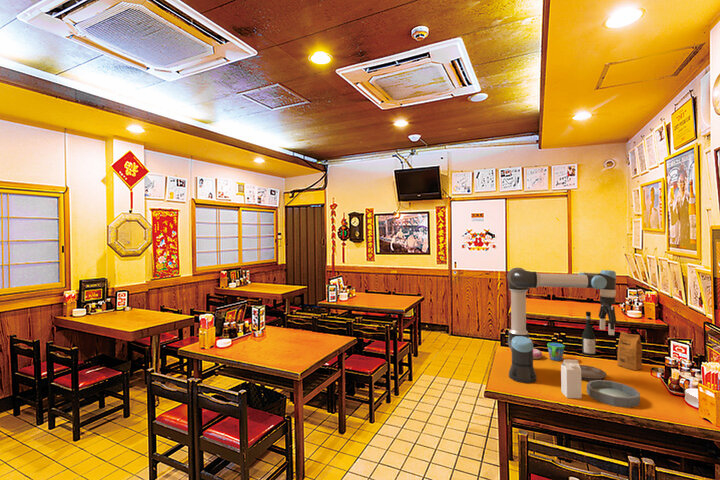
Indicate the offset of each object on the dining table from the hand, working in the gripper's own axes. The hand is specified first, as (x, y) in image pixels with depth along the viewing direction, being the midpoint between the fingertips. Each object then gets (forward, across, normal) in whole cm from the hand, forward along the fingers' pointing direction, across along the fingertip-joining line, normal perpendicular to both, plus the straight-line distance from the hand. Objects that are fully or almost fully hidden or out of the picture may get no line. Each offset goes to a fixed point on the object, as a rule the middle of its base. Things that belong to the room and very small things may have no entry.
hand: (606, 332), depth 212 cm
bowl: (+28, -28, +6) cm, 40 cm away
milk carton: (+29, -31, +26) cm, 50 cm away
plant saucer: (+28, +1, +10) cm, 30 cm away
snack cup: (+27, +28, +20) cm, 44 cm away
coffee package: (+26, +23, -21) cm, 41 cm away
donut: (+28, +30, +35) cm, 54 cm away
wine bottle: (+26, +46, -5) cm, 53 cm away
